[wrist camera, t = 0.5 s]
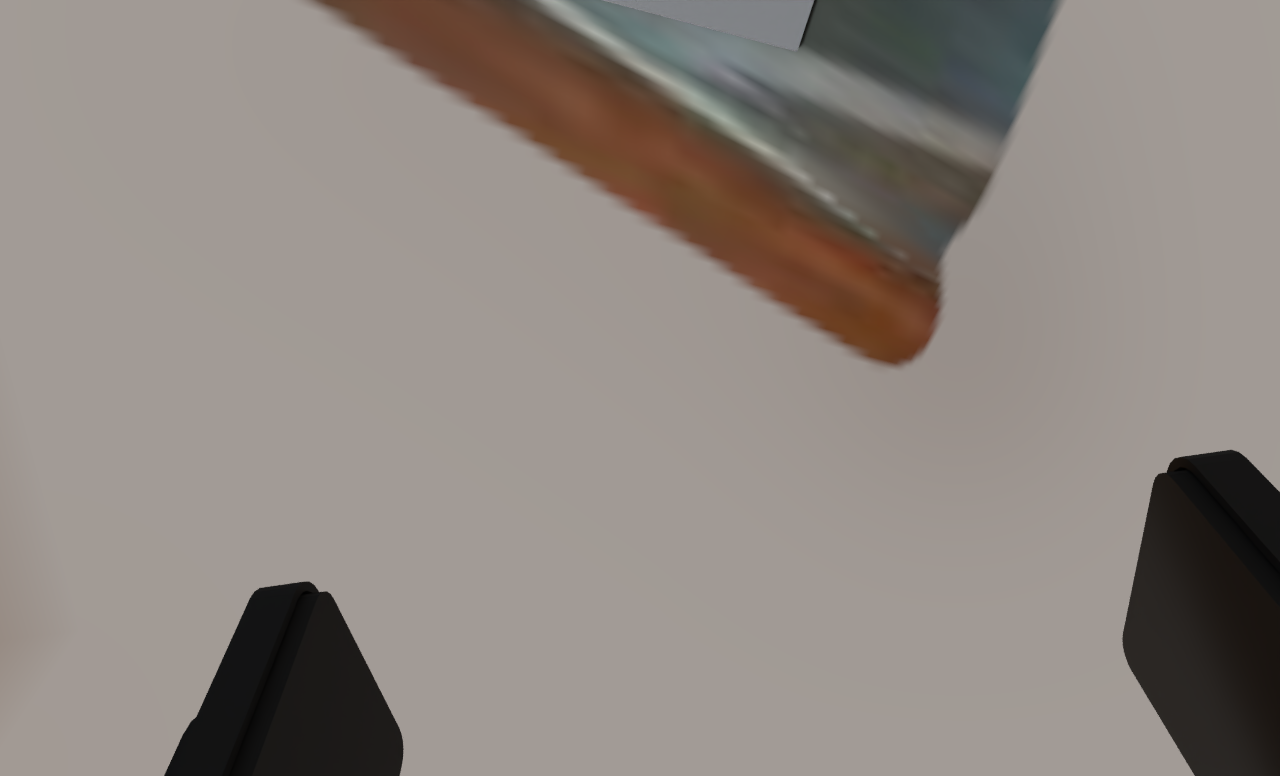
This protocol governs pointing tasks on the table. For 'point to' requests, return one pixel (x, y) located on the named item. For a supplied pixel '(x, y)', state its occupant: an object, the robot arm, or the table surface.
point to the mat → (737, 17)
